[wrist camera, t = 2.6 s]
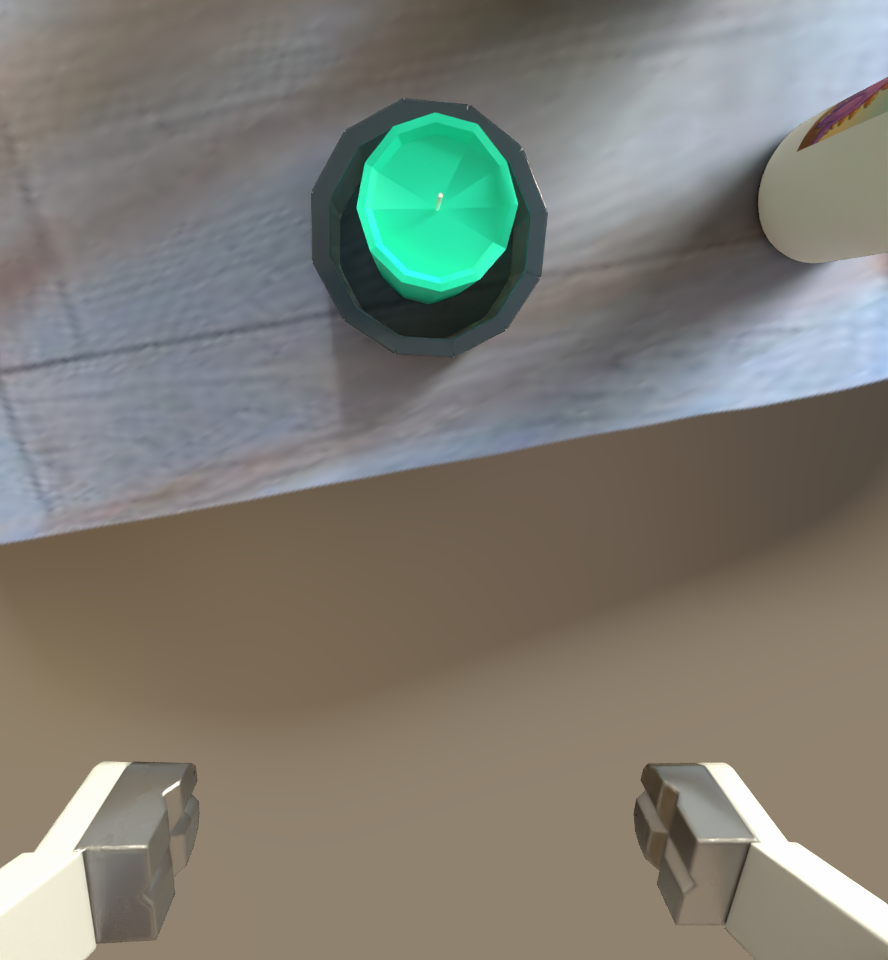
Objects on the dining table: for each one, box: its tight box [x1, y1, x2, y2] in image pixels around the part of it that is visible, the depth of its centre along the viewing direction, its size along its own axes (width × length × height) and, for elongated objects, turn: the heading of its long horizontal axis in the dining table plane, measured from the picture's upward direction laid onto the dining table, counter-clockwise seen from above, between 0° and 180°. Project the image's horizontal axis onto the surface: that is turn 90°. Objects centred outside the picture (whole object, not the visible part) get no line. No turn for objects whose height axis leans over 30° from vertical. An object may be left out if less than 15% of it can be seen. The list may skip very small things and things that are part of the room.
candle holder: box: [311, 98, 548, 357], centre depth 27 cm, size 11×11×4 cm
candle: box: [356, 113, 518, 305], centre depth 23 cm, size 6×6×12 cm
